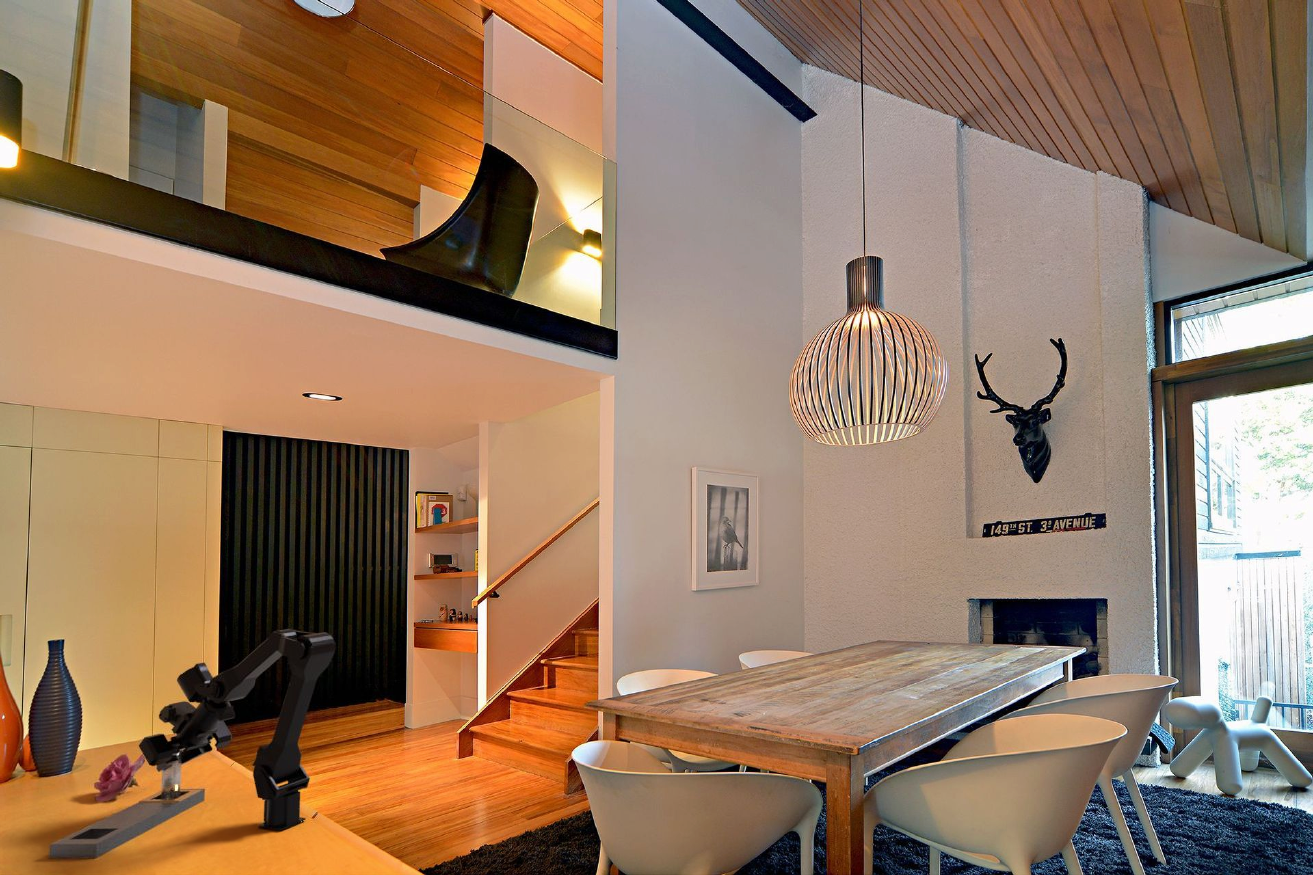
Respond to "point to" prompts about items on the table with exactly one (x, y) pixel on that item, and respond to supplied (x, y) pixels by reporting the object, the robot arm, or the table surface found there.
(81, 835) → the rail
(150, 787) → the table surface
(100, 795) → the flower
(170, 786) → the peg
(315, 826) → the table surface
